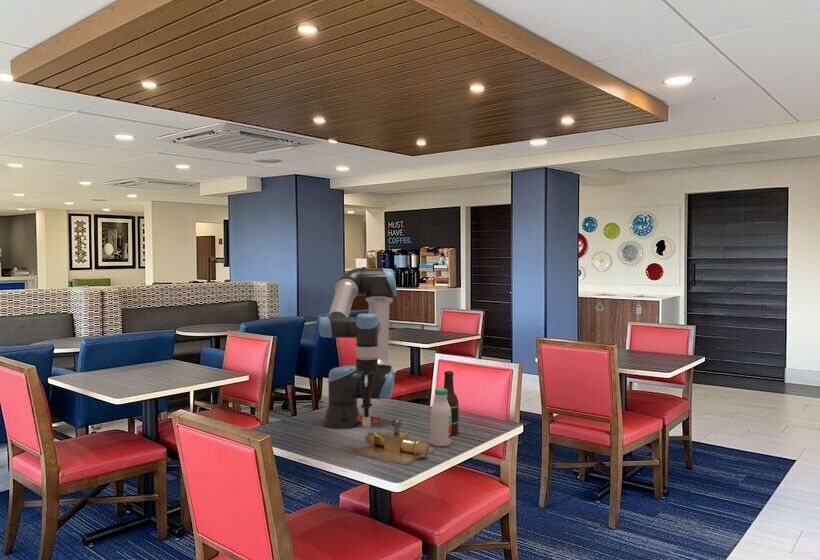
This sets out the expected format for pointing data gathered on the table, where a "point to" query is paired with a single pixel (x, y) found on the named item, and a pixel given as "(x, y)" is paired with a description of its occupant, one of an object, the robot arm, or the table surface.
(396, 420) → the lever
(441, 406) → the milk bottle
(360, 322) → the robot arm
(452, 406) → the beer bottle
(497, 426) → the table surface
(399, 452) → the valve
